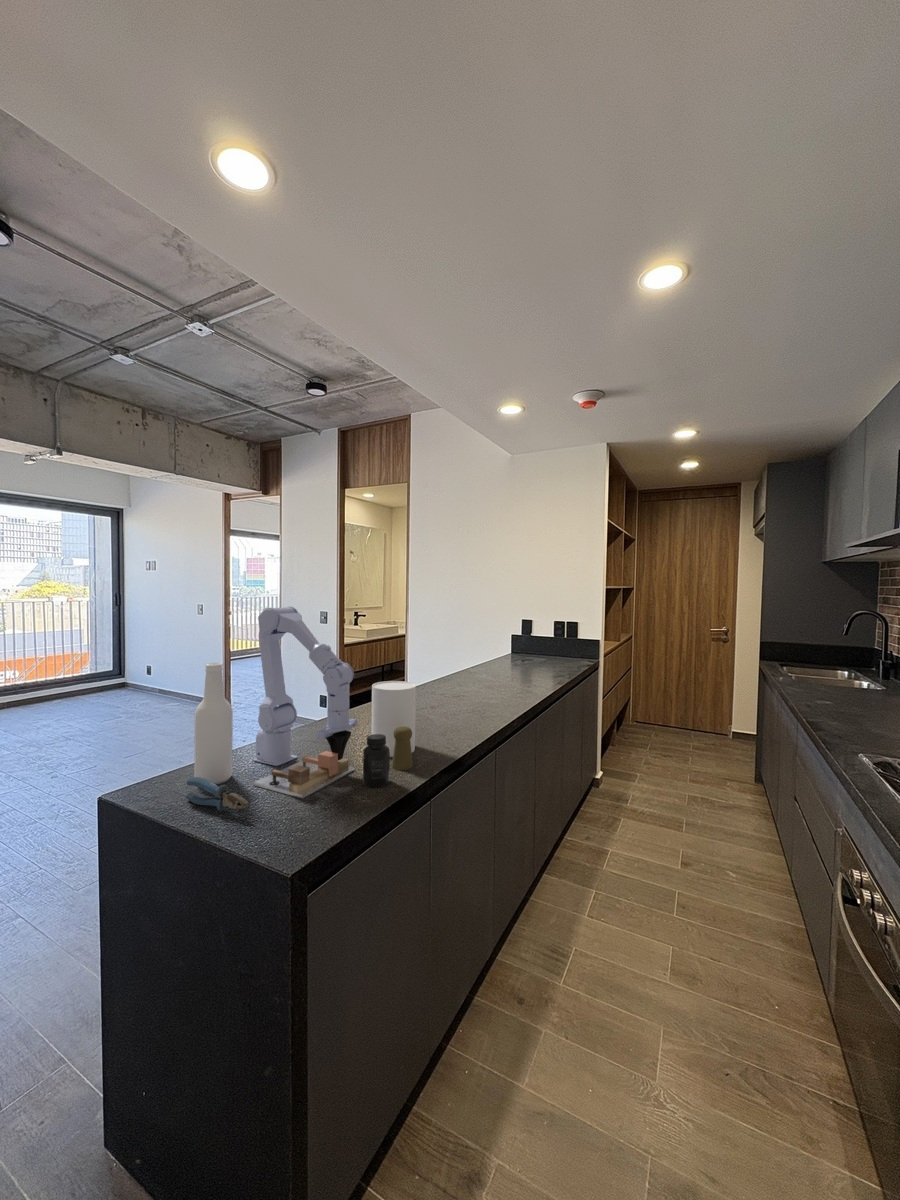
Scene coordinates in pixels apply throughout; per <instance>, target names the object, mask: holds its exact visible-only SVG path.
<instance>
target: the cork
mask: <svg viewBox="0 0 900 1200" xmlns="http://www.w3.org/2000/svg"><path fill="white" fill-rule="evenodd" d="M411 737H412V730H411V729H410V728H409V727H397V728H396V729H395V730H394V738H395V739H396V740H395V746H394V753H393V757H392V761H391V768H392V769H394V770H396V771H408V770H411V769H412V768H413V767H414V763H413V752H411V743H410V739H411Z"/></svg>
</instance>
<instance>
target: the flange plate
mask: <svg viewBox="0 0 900 1200" xmlns="http://www.w3.org/2000/svg"><path fill="white" fill-rule="evenodd" d="M296 765H299V766H303V761H302V760H301V761H298V762H296V763H294V764H291V765H289V766H287V767H284V768H282V769H281V770H279V771H283V772H287V773H288V769H290V768H292V767H294V766H296ZM306 767H308V768H310V773H312V772H314V771H316V770H318V765H317V764H312V763H308V762H306ZM354 771H355V767H352V766H350V765H349V766H348V767H347V768H345V769H343V770H341V771H339V772H338V773H336V774H334V775H332V776H331V777H330V776H329V777H328V778H326V779H324V780H322V781H320V782H318V783H316V784H314V785H312V786H310V787H309V788H307V789H305V790H303V791H301V792H299V793H297V794H296V793H292V792H289V783H290V782H288V779H285V778H281V777H277V776H276V783H275V784H273V775H271V774H269V775H266V776H264V777H262V778H260V779H257V780H256V781H254V782H253V786H254V787H258V788H261V789H265V790H269V791H274V792H276V793H280V794H284V795H288V796H292V797H296V798H300V799H304V798H306V797H308V796H310V795H311V794H314V793H315V792H317V791H319V790H322V789H323V788H325V787H326V786H328V785H330V784H332V783H333V782H335V781H338V780H339V779H341V778H342V777H345V776H346V775H348V774H350V773H352V772H354Z"/></svg>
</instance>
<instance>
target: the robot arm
mask: <svg viewBox="0 0 900 1200" xmlns="http://www.w3.org/2000/svg"><path fill="white" fill-rule="evenodd" d="M257 619H258V628H259V630H258V631H259V632H258V643H259V644H258V645H259V652H260V659H261V661H260V662H261V667H262V668H261V669H262V677H263V685H264V694H265V698H264V699H263V700H262V702H261V703H260V704H259V706H258V708H259V711H258V712H259V714H258V718H257V721H258V726H259V728H260V729H259V730H258V732H257V733H256V737H255V757H254V758H253V761H254V762H258V763H262V764H266V765H270V766H271V765H272V766H275V767H279V766H281V765H283V764H286V763H288V762H290V761H292V760H296V759H298V755H294V754H292V753H291V751H292V749H291V747H292V728H293V724H294V723H295V722H296V721H297V717H298V713H297V709H296V707H295V705H294V701H293V698H292V697H291V696H290V695H288V694H287V693H286V692H287V691H286V685H285V675H284V668H283V661H282V660H283V659H282V653H281V652H282V651H281V645H280V644H281V643H280V640H281V639H282V638H283V637H284V636H285V634H287V633H288V634H291V635H292V636H293V637H294V638H296V639H297V641H299V643H301V645H302V646H303V647H304V648H305V649H306V650H307V651H308V652H309V653H308V654H309V655H308V658H309V660H310V661H311V662H312V664H314V665H315V667H316V668H317V669H318V670H319V672H321V673H322V680H323V683H324V684H325V687H326V692H327V717H326V719H327V725H325V726H324V727H323V728H321V729H320V730H318V731H317V732H316V739H317V740H322V741H324V740H326V741H327V742H328V745H329V748H330V752H333V753H338V760H341V759H342V758H344V754H345V749H346V746H347V744H348V741H349V740H350V738H351V736H352V731H351V730H352V729H353V727H354V728H355V727H358V718H350V683H351V682H352V681H353V679H354V677H355V672H354V669H353V667H352V666H351V664H349V663H347V662H343V660H341V658H338V657H337V655H336V654H335V653H334V651H332V647H331V646H330V645H327V644H326V643H320V642H319V641H318V640H317V638H316V637H315V636H314V634H313V632H311V630H310V629H309V628H308V627H307V625H306V623H305V622H304V621H303V617H302V614H301V613H299V611H298V609H297V608H295V607H293V606H285V607H266V608H264V609H263V610H262V611H261V612H260V614H259V615H258V617H257Z"/></svg>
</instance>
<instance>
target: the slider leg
mask: <svg viewBox="0 0 900 1200" xmlns="http://www.w3.org/2000/svg"><path fill="white" fill-rule="evenodd" d="M301 761H303V766H304V767H306V762H308V763H312V764H317V765H318V769H320V768H322V767H323V768H327V769H329V776H330V777H331V776H332V775H334V774H336V773H338V753H333V752H332V751H327V750H324V751H323V752H320V753H319V754H318V755H317V758H314V757H311V756H310V757H309V756H302V757H301Z"/></svg>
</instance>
